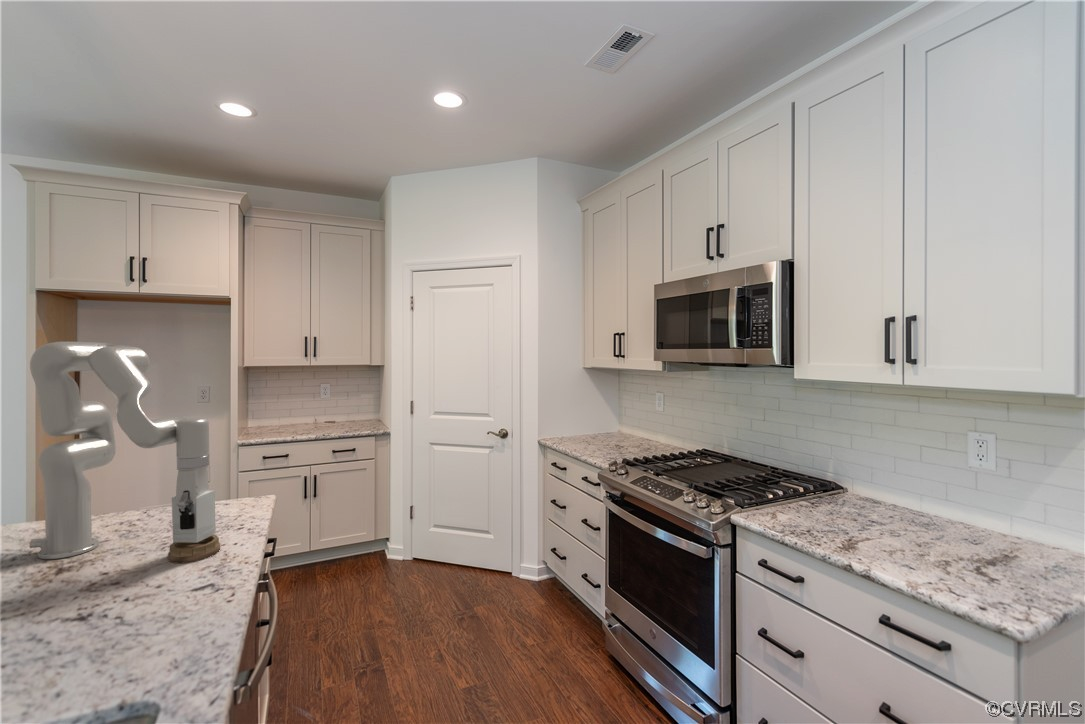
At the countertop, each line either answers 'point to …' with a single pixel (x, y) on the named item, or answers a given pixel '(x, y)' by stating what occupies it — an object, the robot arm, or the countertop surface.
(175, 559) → the coaster tray
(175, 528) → the supplement box
